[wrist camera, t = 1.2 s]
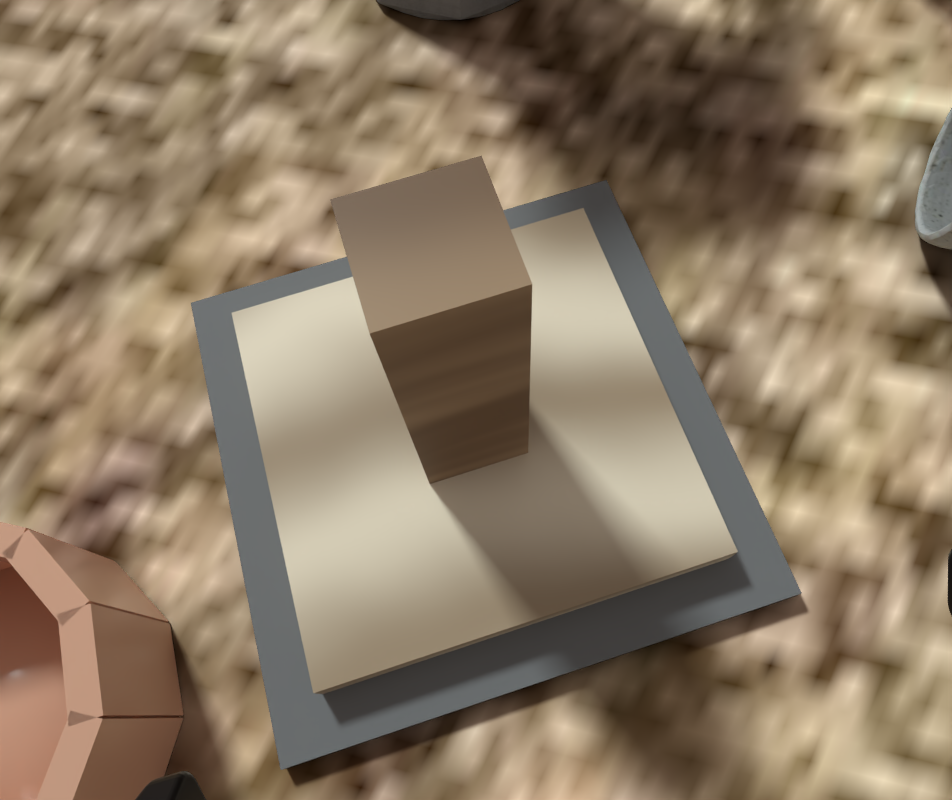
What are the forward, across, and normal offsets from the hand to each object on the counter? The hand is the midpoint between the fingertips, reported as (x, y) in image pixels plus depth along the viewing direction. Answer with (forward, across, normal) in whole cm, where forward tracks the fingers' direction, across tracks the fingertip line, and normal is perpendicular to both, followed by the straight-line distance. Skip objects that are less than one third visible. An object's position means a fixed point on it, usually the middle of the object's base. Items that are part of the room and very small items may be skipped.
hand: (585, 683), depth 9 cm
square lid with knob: (+15, 0, +3) cm, 15 cm away
